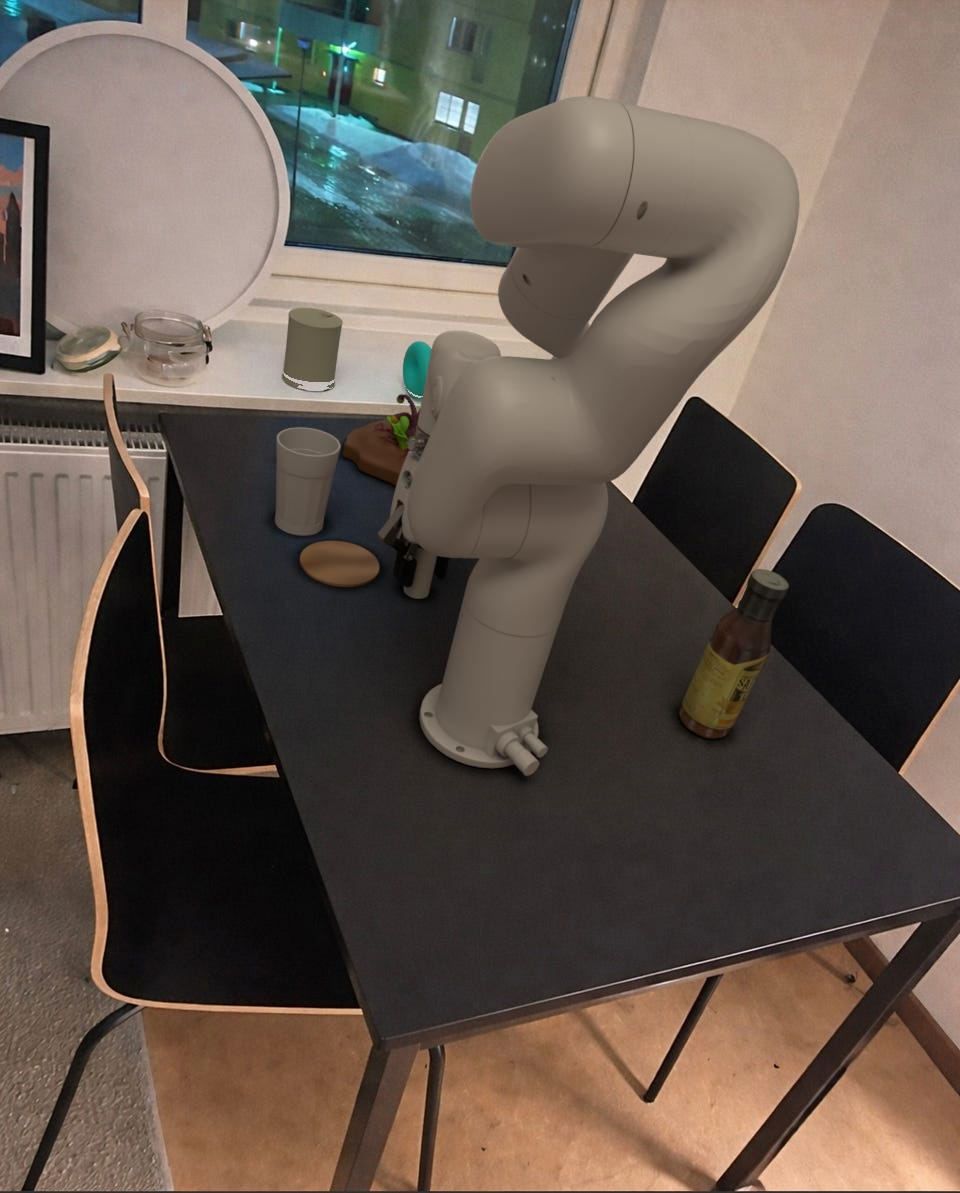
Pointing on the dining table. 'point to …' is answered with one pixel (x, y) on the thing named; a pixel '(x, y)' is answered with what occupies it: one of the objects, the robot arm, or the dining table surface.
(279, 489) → the cup
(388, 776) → the dining table surface
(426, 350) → the teal oval lobes
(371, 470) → the plant
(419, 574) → the marker
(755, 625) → the sauce bottle
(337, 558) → the coaster
